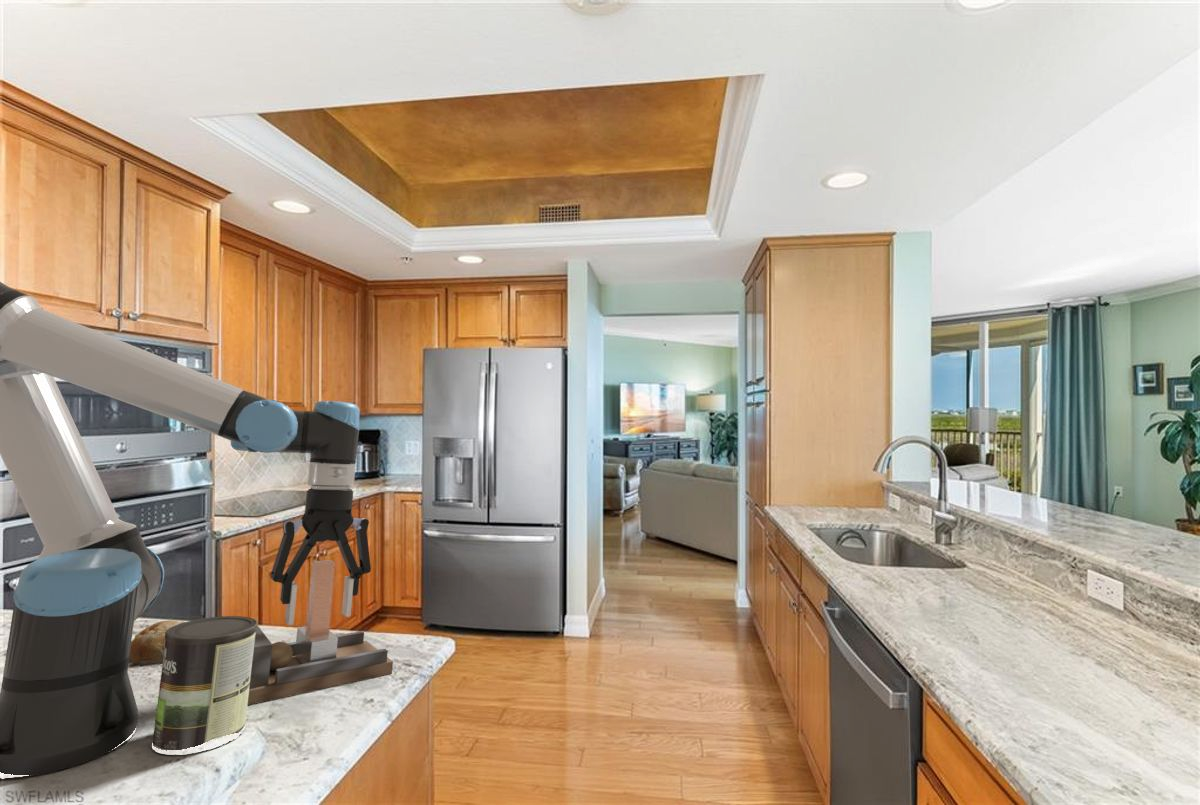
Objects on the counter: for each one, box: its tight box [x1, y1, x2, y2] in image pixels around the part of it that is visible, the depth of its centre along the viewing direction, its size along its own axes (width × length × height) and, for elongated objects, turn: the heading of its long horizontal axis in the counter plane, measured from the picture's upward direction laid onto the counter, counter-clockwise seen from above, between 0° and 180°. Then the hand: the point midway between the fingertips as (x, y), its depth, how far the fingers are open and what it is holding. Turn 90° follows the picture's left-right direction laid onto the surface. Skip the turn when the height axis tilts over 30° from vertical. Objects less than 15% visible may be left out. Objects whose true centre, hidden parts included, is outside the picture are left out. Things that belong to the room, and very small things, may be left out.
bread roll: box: [129, 620, 185, 665], centre depth 100 cm, size 10×10×8 cm
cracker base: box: [247, 625, 394, 706], centre depth 94 cm, size 22×14×8 cm, turn 131°
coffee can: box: [151, 615, 259, 751], centre depth 73 cm, size 10×10×14 cm
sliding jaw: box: [295, 559, 338, 664], centre depth 95 cm, size 4×10×17 cm, turn 41°
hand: (318, 618), depth 95 cm, fingers open, 8 cm apart
